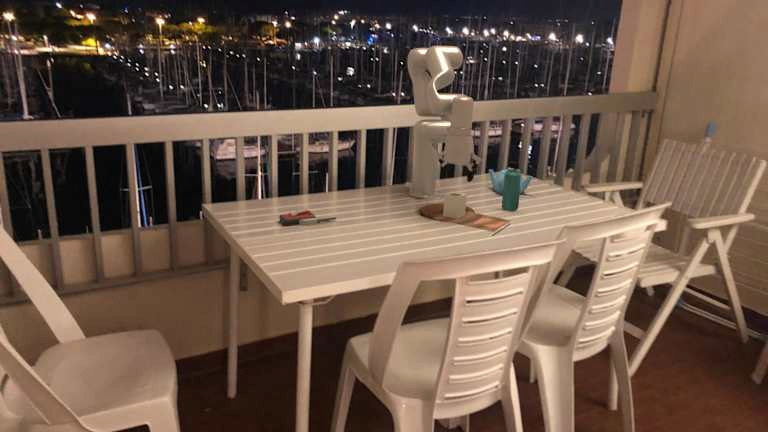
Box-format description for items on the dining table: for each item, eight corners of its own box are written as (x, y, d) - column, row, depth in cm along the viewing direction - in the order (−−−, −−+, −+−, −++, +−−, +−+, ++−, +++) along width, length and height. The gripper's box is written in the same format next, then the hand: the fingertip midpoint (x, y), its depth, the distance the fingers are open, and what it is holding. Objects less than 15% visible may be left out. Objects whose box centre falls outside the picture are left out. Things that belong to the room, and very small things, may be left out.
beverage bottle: (517, 215, 231) (523, 164, 225) (500, 214, 232) (505, 163, 226) (517, 210, 237) (523, 160, 231) (500, 209, 238) (505, 159, 232)
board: (431, 221, 219) (432, 204, 217) (451, 211, 232) (452, 195, 230) (493, 235, 207) (494, 217, 205) (510, 224, 220) (512, 207, 218)
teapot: (485, 187, 270) (487, 163, 267) (517, 186, 273) (519, 163, 270) (497, 196, 256) (500, 171, 253) (531, 196, 259) (534, 171, 256)
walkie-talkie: (284, 230, 206) (337, 222, 216) (284, 218, 205) (337, 211, 214) (275, 222, 213) (327, 215, 223) (275, 210, 212) (327, 204, 222)
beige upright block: (443, 215, 222) (444, 194, 219) (450, 212, 227) (451, 191, 224) (457, 219, 219) (459, 197, 216) (464, 215, 224) (466, 194, 221)
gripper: (433, 130, 214) (431, 177, 219) (478, 135, 206) (475, 184, 210) (443, 128, 221) (440, 174, 225) (487, 133, 212) (483, 181, 217)
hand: (457, 179), depth 218 cm, fingers open, 9 cm apart
